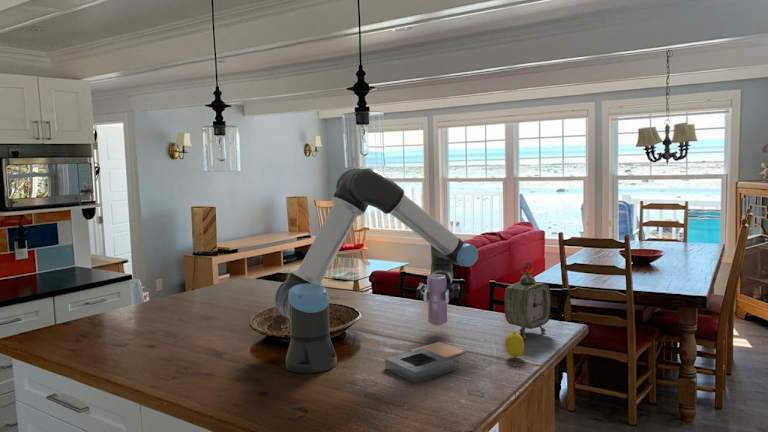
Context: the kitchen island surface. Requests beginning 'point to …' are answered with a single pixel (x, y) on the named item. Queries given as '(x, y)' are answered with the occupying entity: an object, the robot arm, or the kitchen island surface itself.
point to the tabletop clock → (527, 303)
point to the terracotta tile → (442, 349)
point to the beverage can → (437, 299)
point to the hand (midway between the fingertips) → (435, 298)
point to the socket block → (430, 369)
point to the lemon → (514, 344)
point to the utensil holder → (280, 322)
